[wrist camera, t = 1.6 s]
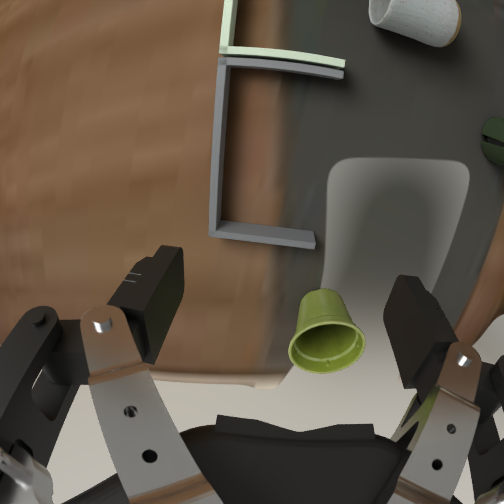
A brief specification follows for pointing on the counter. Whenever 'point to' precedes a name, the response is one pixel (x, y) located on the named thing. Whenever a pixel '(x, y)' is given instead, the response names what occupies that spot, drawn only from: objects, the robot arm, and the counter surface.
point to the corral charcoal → (218, 148)
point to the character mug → (494, 140)
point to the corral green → (265, 53)
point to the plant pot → (325, 334)
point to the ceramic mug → (418, 19)
